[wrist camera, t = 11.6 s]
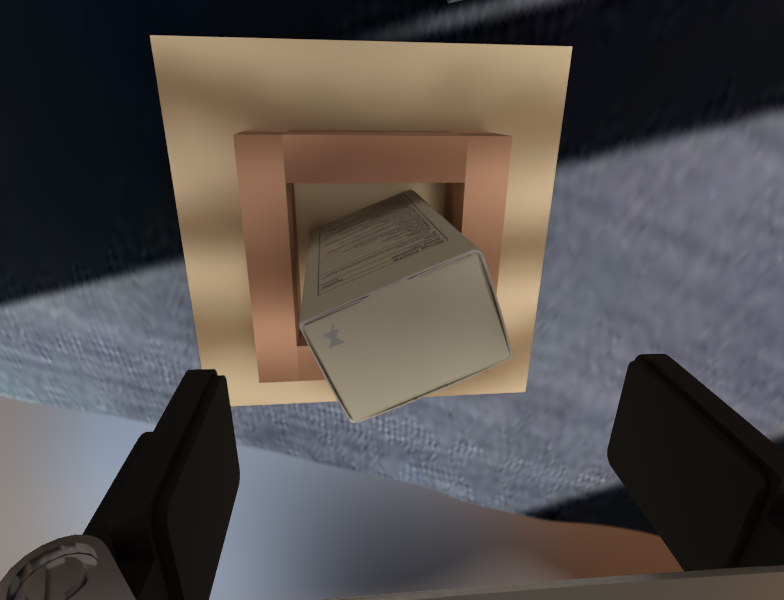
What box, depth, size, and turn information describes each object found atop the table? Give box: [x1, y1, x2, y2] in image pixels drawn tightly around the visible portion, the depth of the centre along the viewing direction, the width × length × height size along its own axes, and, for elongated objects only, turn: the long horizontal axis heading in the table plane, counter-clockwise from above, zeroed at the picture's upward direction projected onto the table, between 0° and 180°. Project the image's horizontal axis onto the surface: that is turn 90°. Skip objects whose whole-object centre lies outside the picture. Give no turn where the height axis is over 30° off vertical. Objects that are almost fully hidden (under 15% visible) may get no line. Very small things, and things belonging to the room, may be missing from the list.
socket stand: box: [150, 35, 572, 406], centre depth 25 cm, size 20×20×5 cm
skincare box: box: [299, 190, 513, 423], centre depth 21 cm, size 6×4×12 cm
